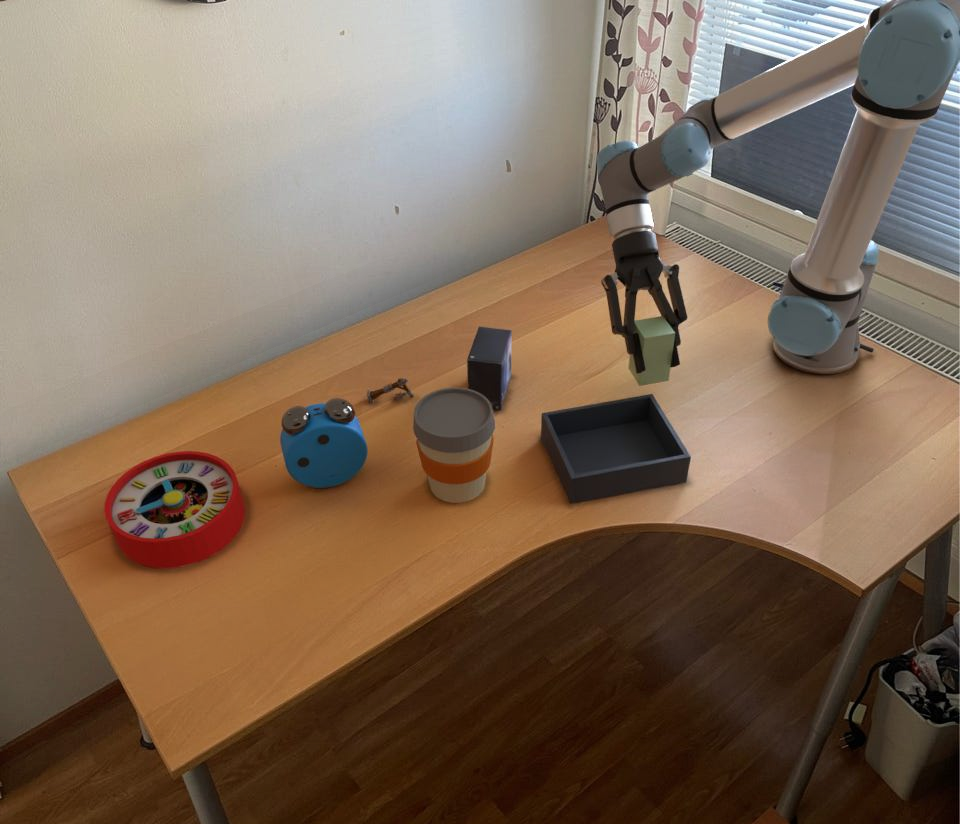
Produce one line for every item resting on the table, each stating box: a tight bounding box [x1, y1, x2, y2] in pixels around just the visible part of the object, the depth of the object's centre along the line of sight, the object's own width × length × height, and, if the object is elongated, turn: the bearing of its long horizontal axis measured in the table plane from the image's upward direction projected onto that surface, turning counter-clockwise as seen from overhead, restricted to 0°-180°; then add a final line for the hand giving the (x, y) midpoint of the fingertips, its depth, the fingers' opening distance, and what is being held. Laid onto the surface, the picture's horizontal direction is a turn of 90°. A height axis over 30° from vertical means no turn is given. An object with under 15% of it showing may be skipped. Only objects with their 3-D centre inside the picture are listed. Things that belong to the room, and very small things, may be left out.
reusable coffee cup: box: [412, 386, 496, 504], centre depth 142 cm, size 13×13×15 cm
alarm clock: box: [279, 397, 369, 489], centre depth 144 cm, size 13×6×15 cm, turn 107°
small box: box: [466, 326, 513, 411], centre depth 160 cm, size 11×6×10 cm, turn 168°
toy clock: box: [103, 450, 246, 570], centre depth 141 cm, size 20×6×20 cm
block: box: [628, 315, 675, 387], centre depth 157 cm, size 6×6×10 cm
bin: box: [540, 393, 692, 505], centre depth 148 cm, size 20×17×6 cm
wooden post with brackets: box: [366, 377, 414, 404], centre depth 162 cm, size 2×8×4 cm, turn 92°
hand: (658, 368), depth 155 cm, fingers closed on block, 5 cm apart
